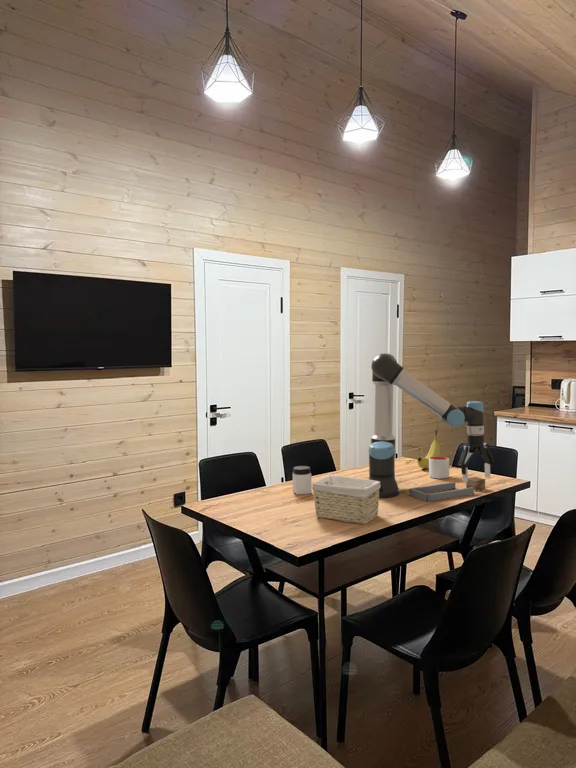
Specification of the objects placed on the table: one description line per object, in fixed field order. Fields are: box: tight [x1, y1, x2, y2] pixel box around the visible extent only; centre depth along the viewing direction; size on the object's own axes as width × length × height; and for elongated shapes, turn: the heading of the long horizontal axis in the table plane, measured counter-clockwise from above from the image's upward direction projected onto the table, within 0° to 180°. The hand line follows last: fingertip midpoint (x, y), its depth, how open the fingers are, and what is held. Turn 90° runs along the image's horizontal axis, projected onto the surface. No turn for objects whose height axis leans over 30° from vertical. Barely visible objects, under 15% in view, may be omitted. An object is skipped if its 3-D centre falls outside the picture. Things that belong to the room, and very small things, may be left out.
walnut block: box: [465, 476, 486, 492], centre depth 267 cm, size 6×6×5 cm
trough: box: [408, 481, 475, 503], centre depth 259 cm, size 26×13×3 cm, turn 115°
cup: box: [428, 455, 450, 480], centre depth 293 cm, size 10×10×10 cm
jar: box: [292, 465, 313, 495], centre depth 269 cm, size 9×8×12 cm
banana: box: [417, 429, 441, 469], centre depth 317 cm, size 23×6×20 cm, turn 139°
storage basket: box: [312, 475, 381, 525], centre depth 228 cm, size 24×16×15 cm
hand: (476, 479), depth 267 cm, fingers open, 13 cm apart
